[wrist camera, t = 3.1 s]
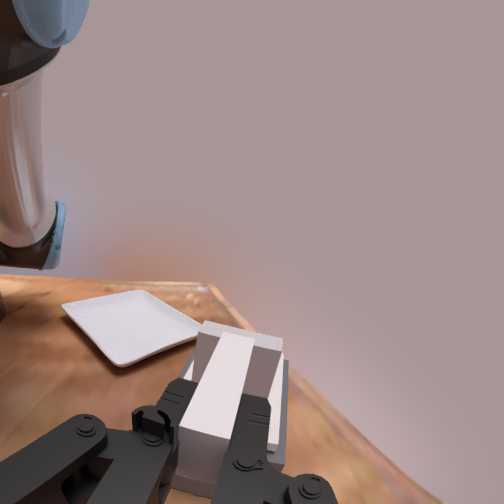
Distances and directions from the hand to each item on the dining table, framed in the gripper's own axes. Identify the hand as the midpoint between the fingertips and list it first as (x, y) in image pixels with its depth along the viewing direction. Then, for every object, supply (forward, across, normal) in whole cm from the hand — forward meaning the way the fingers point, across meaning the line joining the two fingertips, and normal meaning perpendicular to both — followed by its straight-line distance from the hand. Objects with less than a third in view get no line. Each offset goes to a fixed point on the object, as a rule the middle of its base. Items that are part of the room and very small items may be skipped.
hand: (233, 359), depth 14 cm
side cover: (+14, 0, -12) cm, 19 cm away
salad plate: (+34, -22, -22) cm, 46 cm away
